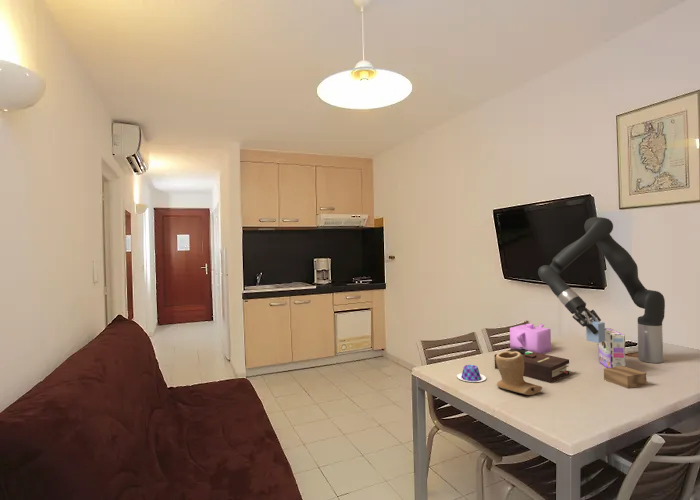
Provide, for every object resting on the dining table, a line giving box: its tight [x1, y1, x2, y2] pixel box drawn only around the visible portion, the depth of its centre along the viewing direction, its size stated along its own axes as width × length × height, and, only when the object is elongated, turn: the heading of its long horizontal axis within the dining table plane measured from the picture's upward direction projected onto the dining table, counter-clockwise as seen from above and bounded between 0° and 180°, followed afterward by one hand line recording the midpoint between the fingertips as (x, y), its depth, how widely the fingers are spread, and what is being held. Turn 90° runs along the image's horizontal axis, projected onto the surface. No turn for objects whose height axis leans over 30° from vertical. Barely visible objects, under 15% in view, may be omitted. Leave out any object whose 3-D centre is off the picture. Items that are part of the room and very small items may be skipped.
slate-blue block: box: [585, 321, 606, 344], centre depth 168 cm, size 5×5×8 cm
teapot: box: [509, 323, 552, 354], centre depth 208 cm, size 15×25×14 cm, turn 125°
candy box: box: [597, 327, 626, 368], centre depth 176 cm, size 14×6×16 cm, turn 168°
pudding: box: [456, 364, 487, 383], centre depth 168 cm, size 12×12×5 cm
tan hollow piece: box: [494, 350, 543, 396], centre depth 152 cm, size 15×12×15 cm
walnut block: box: [603, 366, 648, 389], centre depth 157 cm, size 10×10×5 cm
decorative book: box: [493, 347, 570, 384], centre depth 174 cm, size 19×8×30 cm
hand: (600, 331), depth 167 cm, fingers closed on slate-blue block, 5 cm apart
